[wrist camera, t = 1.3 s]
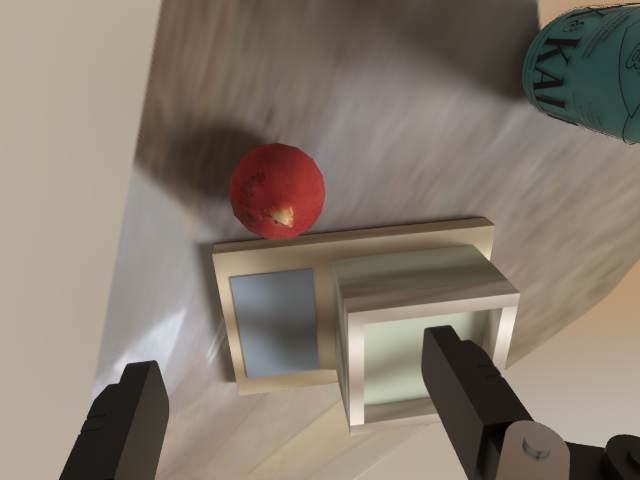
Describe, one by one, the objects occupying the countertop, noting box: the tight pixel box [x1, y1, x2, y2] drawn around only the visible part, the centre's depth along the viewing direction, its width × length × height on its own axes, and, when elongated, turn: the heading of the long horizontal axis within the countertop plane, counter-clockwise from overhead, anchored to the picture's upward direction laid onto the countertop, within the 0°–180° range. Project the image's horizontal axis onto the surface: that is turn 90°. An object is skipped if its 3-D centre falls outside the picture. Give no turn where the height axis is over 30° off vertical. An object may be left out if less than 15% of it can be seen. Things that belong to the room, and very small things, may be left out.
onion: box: [228, 143, 325, 240], centre depth 25 cm, size 6×6×8 cm
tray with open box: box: [212, 217, 520, 435], centre depth 31 cm, size 14×21×8 cm, turn 92°
